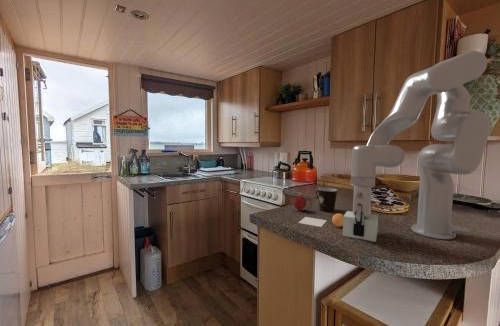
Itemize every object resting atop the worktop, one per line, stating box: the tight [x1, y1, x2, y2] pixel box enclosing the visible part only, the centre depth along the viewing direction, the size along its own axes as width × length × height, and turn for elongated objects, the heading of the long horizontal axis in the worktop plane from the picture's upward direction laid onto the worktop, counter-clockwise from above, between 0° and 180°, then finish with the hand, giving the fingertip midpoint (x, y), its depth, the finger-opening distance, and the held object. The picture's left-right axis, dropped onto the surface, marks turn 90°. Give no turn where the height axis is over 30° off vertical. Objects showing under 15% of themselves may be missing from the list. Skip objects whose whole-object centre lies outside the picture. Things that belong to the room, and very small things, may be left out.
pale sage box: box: [342, 210, 379, 243], centre depth 83 cm, size 10×8×7 cm
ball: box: [331, 213, 345, 228], centre depth 92 cm, size 5×5×5 cm
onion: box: [292, 193, 307, 211], centre depth 113 cm, size 6×6×8 cm
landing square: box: [297, 216, 328, 228], centre depth 97 cm, size 9×9×1 cm
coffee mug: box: [315, 187, 338, 213], centre depth 116 cm, size 12×9×10 cm
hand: (360, 231), depth 84 cm, fingers closed on pale sage box, 7 cm apart
